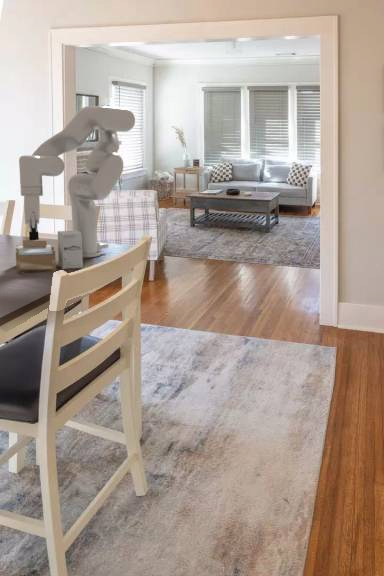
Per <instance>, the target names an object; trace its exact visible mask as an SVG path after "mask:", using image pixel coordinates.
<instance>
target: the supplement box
mask: <svg viewBox="0 0 384 576" xmlns="http://www.w3.org/2000/svg"><path fill="white" fill-rule="evenodd" d="M57 251H58V267H60V268H61V269H62V270H67V269H83V268H84V266H83V265H84V264H83V262H84V258H83V256H82V233H80V232H79V231H72V230H59V231H57Z"/></svg>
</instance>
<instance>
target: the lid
mask: <svg viewBox="0 0 384 576" xmlns="http://www.w3.org/2000/svg"><path fill="white" fill-rule="evenodd" d="M18 249H19V255H41V254H53V252H52V244H47V239H39V240H29V239H24V240H22V245H18Z"/></svg>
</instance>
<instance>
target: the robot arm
mask: <svg viewBox="0 0 384 576" xmlns="http://www.w3.org/2000/svg"><path fill="white" fill-rule="evenodd" d="M135 124H136V117H135V114H134V113H133V111H131V110H130V109H128V108H122V107H112V106H104V105H89V106H84V107H81V109H80V110H79V111H78V112H77V113H76V114H75V115H74V116H73V118H72V119H71V120H70V121H69V123H68V124H66V126H65V127H64V128H63V129H62V130H60V132H57V133H56V134H54V135H53V136H51V137H50V138H49V139H47V140H45V141H44V142H43V143H41V144H40V145H39V146H37V149H36V150H35V151H34V152H33V153H32V154H31V155H21V156H20V157H19V158H18V159H19V160H18V164H19V166H18V167H19V184H20V185H19V186H20V196H21V197H23V209H24V224H25V225H29V231H28V238H29V239H28V240H40V237H39V231H38V225H39V224H40V216H41V206H40V205H41V204H40V201H41V200H40V197H43V196H44V194H43V193H44V191H43V189H44V187H43V176H45V177H58V176H60V175H61V174H62V173H63V172H64V170H65V162H64V160H63V159H62V158H61V157H60V156H61V155H63V154H66V153H69V152H73V151H75V150H77V149H80V148H81V146H82V145H83V144H84V143H85V142H86V140H87V139H88V138H89V137H90V136H91V134H92V133H93V132H94V131H96V130H98V132H99V139H98V140H97V142H96V144H95V146H94V148H93V149H92V151H91V153H89V155H88V157H87V159H86V161H85V164H84V168H85V171H86V172H87V173H85V172H84V173H83V172H82V173H81V172H80V173H76V174H74V175H72V176H71V177H70V179H69V181H68V185H67V188H68V194H69V198H70V203H71V205H70V206H71V225H72V227H71V228H72V229H71V231H79V232H80V233H82V256H83V259H85V258H87V259H89V258H96V257H100V256H102V251H101V250H102V249H108V248H109V244H108V243H107V242H106V243H101V242H98V224H97V223H98V219H97V216H98V215H97V214H98V212H97V205H96V203H95V201H103V200H105V199H106V198H108V197H109V196H110V193H111V192H112V191H113V190H114V187H115V186H116V184H117V183H118V181H119V179H120V177H121V176H122V173H123V171H124V160H123V158H122V156H120V154H118V152H119V149H120V141H119V137H118V133H117V132H124V133H125V132H129V131H131V130H132V129H133V128H134V127H135Z"/></svg>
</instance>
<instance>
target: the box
mask: <svg viewBox="0 0 384 576" xmlns="http://www.w3.org/2000/svg"><path fill="white" fill-rule="evenodd" d="M51 248H52V252H53V254H41V255H19V245H15V260H16V261H15V263H16V266H15V267H16V273H17V274H26V273H47V272H48V273H49V272H57V262H56V261H57V260H56V259H57V257H56V249H55V245H54V244H51Z"/></svg>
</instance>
